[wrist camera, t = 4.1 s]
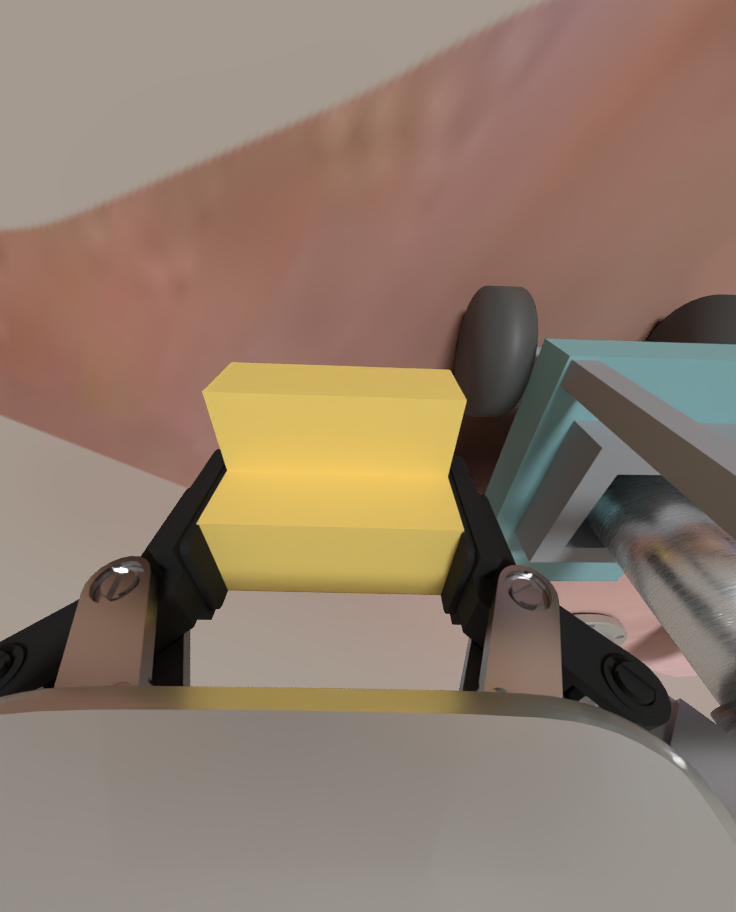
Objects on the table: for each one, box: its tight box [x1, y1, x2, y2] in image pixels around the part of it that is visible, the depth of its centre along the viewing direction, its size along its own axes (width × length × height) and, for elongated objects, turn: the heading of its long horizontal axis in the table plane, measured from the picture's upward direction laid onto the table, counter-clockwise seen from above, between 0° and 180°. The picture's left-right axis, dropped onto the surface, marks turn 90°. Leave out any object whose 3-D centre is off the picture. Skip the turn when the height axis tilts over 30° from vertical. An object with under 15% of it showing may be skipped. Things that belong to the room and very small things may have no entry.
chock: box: [196, 362, 467, 595], centre depth 9 cm, size 6×6×4 cm
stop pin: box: [585, 475, 736, 738], centre depth 9 cm, size 4×4×8 cm
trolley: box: [455, 286, 736, 581], centre depth 12 cm, size 14×10×14 cm
